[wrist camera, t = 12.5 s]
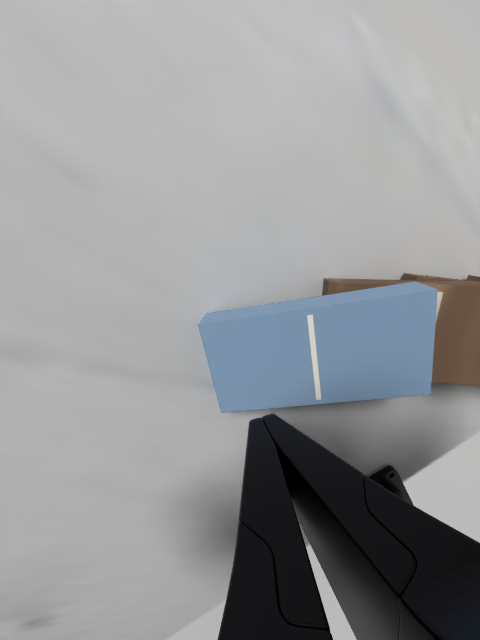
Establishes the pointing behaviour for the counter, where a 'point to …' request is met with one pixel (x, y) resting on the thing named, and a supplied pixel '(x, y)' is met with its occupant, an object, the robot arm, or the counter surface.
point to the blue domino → (323, 348)
